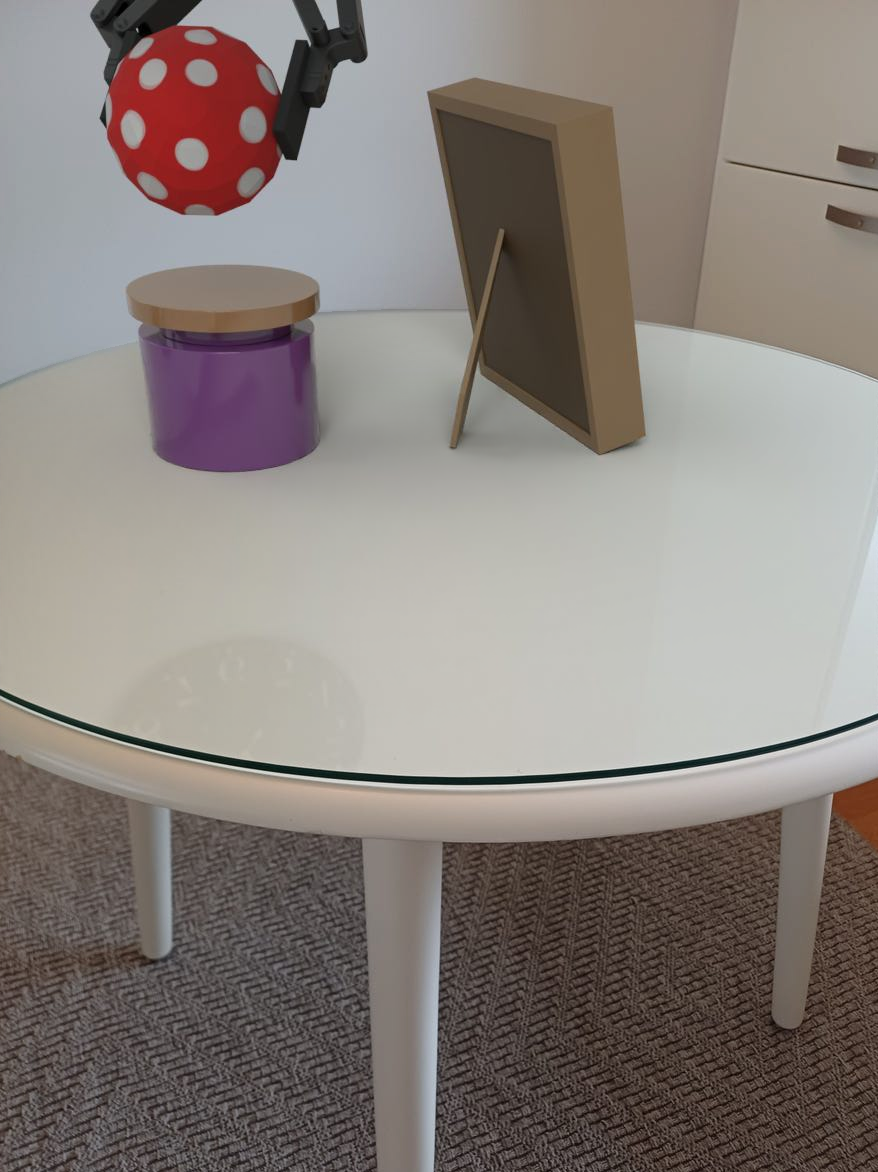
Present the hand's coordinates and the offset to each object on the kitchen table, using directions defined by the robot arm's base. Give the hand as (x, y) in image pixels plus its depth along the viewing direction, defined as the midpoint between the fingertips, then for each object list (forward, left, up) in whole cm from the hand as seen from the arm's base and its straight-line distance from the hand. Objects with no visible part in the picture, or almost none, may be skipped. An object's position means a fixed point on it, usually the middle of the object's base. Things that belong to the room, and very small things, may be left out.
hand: (198, 139), depth 70 cm
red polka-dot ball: (0, +3, -4) cm, 5 cm away
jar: (-3, +8, -23) cm, 25 cm away
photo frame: (+16, +20, -23) cm, 35 cm away
